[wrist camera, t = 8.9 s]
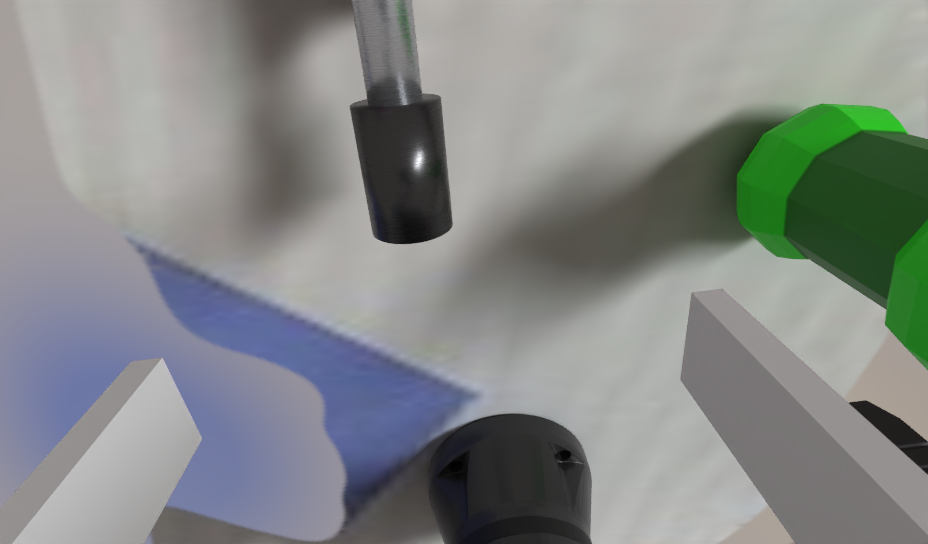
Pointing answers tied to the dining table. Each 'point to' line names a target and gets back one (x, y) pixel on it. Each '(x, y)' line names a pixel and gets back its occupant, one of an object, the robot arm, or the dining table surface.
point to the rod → (398, 129)
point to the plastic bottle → (847, 206)
